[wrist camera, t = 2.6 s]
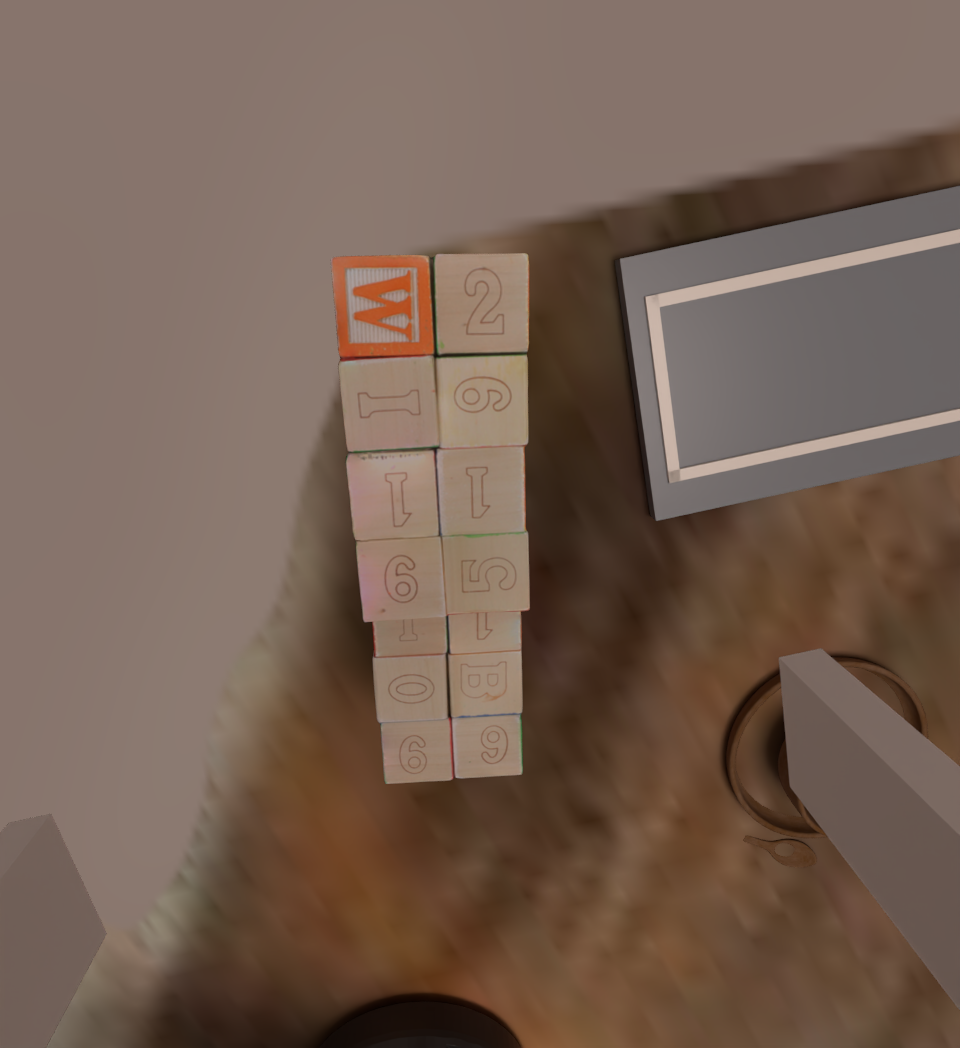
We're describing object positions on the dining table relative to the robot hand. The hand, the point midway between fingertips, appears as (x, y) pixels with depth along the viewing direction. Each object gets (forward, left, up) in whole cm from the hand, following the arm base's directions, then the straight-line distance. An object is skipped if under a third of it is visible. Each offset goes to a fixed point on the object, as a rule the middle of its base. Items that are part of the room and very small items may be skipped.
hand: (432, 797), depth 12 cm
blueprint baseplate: (+24, +2, -24) cm, 34 cm away
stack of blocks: (0, -1, -25) cm, 25 cm away
